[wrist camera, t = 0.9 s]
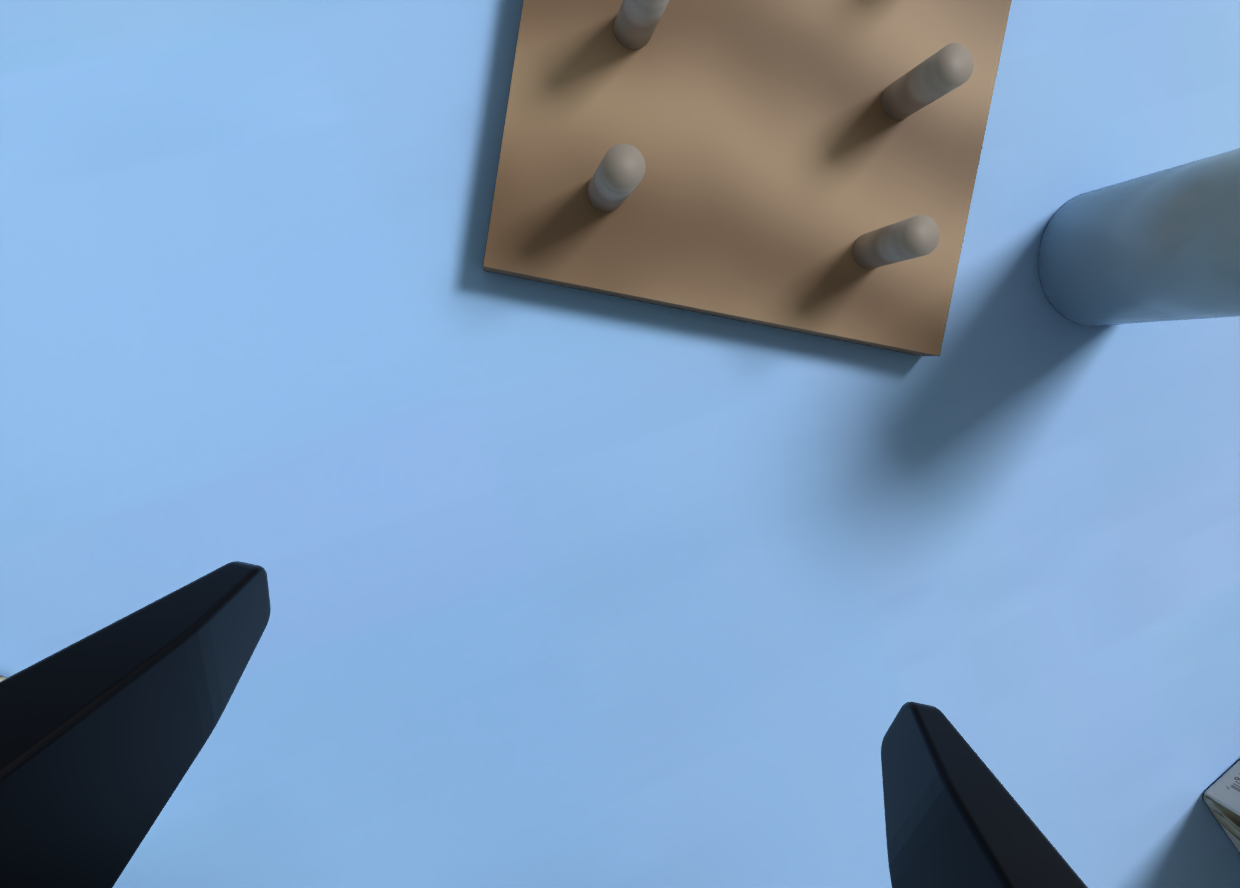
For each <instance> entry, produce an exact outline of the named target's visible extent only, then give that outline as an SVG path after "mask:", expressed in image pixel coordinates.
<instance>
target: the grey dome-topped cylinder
mask: <svg viewBox="0 0 1240 888" xmlns="http://www.w3.org/2000/svg"><path fill="white" fill-rule="evenodd" d="M1038 269H1039V276H1040V281H1041V284H1042V288H1043V290H1044V292H1045V295H1046V297H1047V298H1048V300H1049V302H1050V303H1051V304H1052V306H1053V307H1054V308H1055V309H1056V310H1057V311H1058V312H1059V313H1060V314H1061V315H1062V316H1064V317H1065V318H1067V319H1068V320H1071V321H1073V322H1075V323H1078V324H1081V325H1088V326H1097V325H1112V324H1127V323H1143V322H1158V321H1173V320H1189V319H1204V318H1219V317H1235V316H1240V148H1239V149H1235V150H1232V151H1229V152H1225V153H1222V154H1218V155H1215V156H1211V157H1208V158H1204V159H1201V160H1197V161H1194V162H1190V163H1187V164H1183V165H1180V166H1176V167H1173V168H1170V169H1166V170H1163V171H1159V172H1156V173H1152V174H1149V175H1145V176H1142V177H1138V178H1135V179H1131V180H1128V181H1124V182H1121V183H1117V184H1114V185H1111V186H1107V187H1104V188H1100V189H1097V190H1093V191H1090V192H1086V193H1083V194H1080V195H1078V196H1076V197H1073V198H1072V199H1070V200H1069V201H1067V202H1066V203H1065V204H1064V205H1062V206H1061V207H1060V208H1059V209H1058V210H1057V212H1056V213H1055V214H1054V215H1053V217H1052V218H1051V220H1050V221H1049V223H1048V225H1047V227H1046V228H1045V231H1044V233H1043V236H1042V239H1041V243H1040V248H1039V254H1038Z"/></svg>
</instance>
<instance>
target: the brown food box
mask: <svg viewBox="0 0 1240 888" xmlns="http://www.w3.org/2000/svg"><path fill="white" fill-rule="evenodd" d="M1203 798H1204V801H1205V802H1206V804H1207V805H1208V807H1209V808H1210V810H1211V811H1212V813H1213V814H1214V816H1215V817H1216V819H1217V820H1218V822H1219V823H1220V825H1221V826H1222V828H1223V829H1224V831H1225V832H1226V834H1227V835H1228V837H1229V838H1230V839H1231V841H1232V842H1233V844H1234V845H1235V847H1236V848H1237V850H1238V851H1239V853H1240V760H1239V761H1238V762H1237V763H1236V764H1235V765H1233V766H1232V767H1231V768H1230V769H1229V770H1228V771H1227V772H1226V773H1225V774H1224V775H1223V776H1222V777H1220V778H1219V779H1218V780H1217V781H1216V782H1215V783H1214V784H1213V785H1211V786H1210V787H1209V788H1208V789H1207V790H1206V791H1205V793H1204V796H1203Z"/></svg>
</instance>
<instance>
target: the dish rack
mask: <svg viewBox="0 0 1240 888" xmlns="http://www.w3.org/2000/svg"><path fill="white" fill-rule="evenodd" d="M1010 5H1011V0H523V7H522V14H521V20H520V27H519V33H518V40H517V47H516V53H515V60H514V66H513V73H512V80H511V86H510V93H509V99H508V106H507V113H506V119H505V126H504V132H503V139H502V146H501V152H500V159H499V165H498V172H497V179H496V185H495V192H494V198H493V205H492V212H491V218H490V225H489V231H488V238H487V245H486V251H485V258H484V264H483V270H484V271H489V272H494V273H499V274H505V275H510V276H515V277H520V278H525V279H530V280H535V281H540V282H546V283H551V284H556V285H561V286H566V287H571V288H576V289H581V290H587V291H592V292H597V293H602V294H607V295H612V296H617V297H622V298H628V299H633V300H638V301H643V302H648V303H653V304H658V305H663V306H669V307H674V308H679V309H684V310H689V311H694V312H699V313H704V314H710V315H715V316H720V317H725V318H730V319H735V320H740V321H745V322H751V323H756V324H761V325H766V326H771V327H776V328H781V329H786V330H792V331H797V332H802V333H807V334H812V335H817V336H822V337H827V338H832V339H838V340H843V341H848V342H853V343H858V344H863V345H868V346H873V347H879V348H884V349H889V350H894V351H899V352H904V353H909V354H914V355H920V356H940V352H941V347H942V342H943V337H944V332H945V327H946V322H947V317H948V312H949V307H950V302H951V297H952V292H953V287H954V282H955V277H956V272H957V268H958V263H959V258H960V253H961V248H962V243H963V238H964V233H965V228H966V223H967V218H968V213H969V208H970V203H971V198H972V193H973V188H974V183H975V179H976V174H977V169H978V164H979V159H980V154H981V149H982V144H983V139H984V134H985V129H986V124H987V119H988V114H989V109H990V104H991V99H992V94H993V89H994V85H995V80H996V75H997V70H998V65H999V60H1000V55H1001V50H1002V45H1003V40H1004V35H1005V30H1006V25H1007V20H1008V15H1009V10H1010Z"/></svg>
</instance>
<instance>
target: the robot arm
mask: <svg viewBox="0 0 1240 888" xmlns="http://www.w3.org/2000/svg"><path fill="white" fill-rule="evenodd" d="M269 616H270V599H269V590H268V581H267V574H266V571H265V569H264V568H263V567H261V566H258V565H253V564H248V563H244V562H238V561H236V562H231V563H228V564H226V565H224V566H222V567H220V568H218V569H216V570H215V571H213V572H211V573H209V574H207V575H205V576H203V577H201V578H199V579H197V580H195V581H193V582H191V583H190V584H188V585H186V586H184V587H182V588H180V589H178V590H176V591H174V592H172V593H170V594H168V595H166V596H164V597H163V598H161V599H159V600H157V601H155V602H153V603H151V604H149V605H147V606H145V607H143V608H141V609H139V610H138V611H136V612H134V613H132V614H130V615H128V616H126V617H124V618H122V619H120V620H118V621H116V622H114V623H112V624H111V625H109V626H107V627H105V628H103V629H101V630H99V631H97V632H95V633H93V634H91V635H89V636H87V637H86V638H84V639H82V640H80V641H78V642H76V643H74V644H72V645H70V646H68V647H66V648H64V649H62V650H60V651H59V652H57V653H55V654H53V655H51V656H49V657H47V658H45V659H43V660H41V661H39V662H37V663H35V664H34V665H32V666H30V667H28V668H26V669H24V670H22V671H20V672H18V673H16V674H14V675H12V676H10V677H8V678H7V679H5V680H3V681H1V682H0V888H112V887H113V886H114V884H115V882H116V881H117V879H118V878H119V876H120V875H121V873H122V872H123V870H124V868H125V867H126V865H127V864H128V862H129V861H130V859H131V858H132V856H133V854H134V853H135V851H136V850H137V848H138V847H139V845H140V844H141V842H142V841H143V839H144V837H145V836H146V834H147V833H148V831H149V830H150V828H151V827H152V825H153V823H154V822H155V820H156V819H157V817H158V816H159V814H160V813H161V811H162V809H163V808H164V806H165V805H166V803H167V802H168V800H169V799H170V797H171V795H172V794H173V792H174V791H175V789H176V788H177V786H178V785H179V783H180V781H181V780H182V778H183V777H184V775H185V774H186V772H187V771H188V769H189V767H190V766H191V764H192V763H193V761H194V760H195V758H196V757H197V755H198V753H199V752H200V750H201V749H202V747H203V746H204V744H205V743H206V741H207V739H208V738H209V736H210V734H211V733H212V731H213V729H214V728H215V726H216V724H217V723H218V721H219V719H220V717H221V715H222V713H223V711H224V709H225V707H226V705H227V703H228V701H229V699H230V697H231V695H232V694H233V692H234V690H235V688H236V686H237V684H238V682H239V680H240V678H241V676H242V674H243V672H244V670H245V668H246V666H247V664H248V662H249V660H250V658H251V656H252V654H253V652H254V650H255V648H256V646H257V644H258V642H259V640H260V638H261V636H262V634H263V632H264V630H265V628H266V626H267V623H268V620H269ZM881 762H882V777H883V792H884V807H885V822H886V838H887V851H888V862H889V870H890V877H891V883H892V888H1088V887H1087V886H1086V885H1085V884H1084V883H1083V881H1082V880H1081V879H1080V878H1079V877H1078V875H1077V874H1076V873H1075V872H1074V871H1073V869H1072V868H1071V867H1070V866H1069V865H1068V863H1067V862H1066V861H1065V860H1064V859H1063V857H1062V856H1061V855H1060V854H1059V853H1058V851H1057V850H1056V849H1055V848H1054V847H1053V845H1052V844H1051V843H1050V842H1049V841H1048V839H1047V838H1046V837H1045V836H1044V835H1043V833H1042V832H1041V831H1040V830H1039V828H1038V827H1037V826H1036V825H1035V824H1034V822H1033V821H1032V820H1031V819H1030V818H1029V816H1028V815H1027V814H1026V813H1025V812H1024V810H1023V809H1022V808H1021V807H1020V806H1019V804H1018V803H1017V802H1016V801H1015V800H1014V798H1013V797H1012V796H1011V795H1010V794H1009V792H1008V791H1007V790H1006V789H1005V788H1004V786H1003V785H1002V784H1001V783H1000V782H999V780H998V779H997V778H996V777H995V776H994V774H993V773H992V772H991V771H990V770H989V768H988V767H987V766H986V765H985V764H984V762H983V761H982V760H981V759H980V758H979V756H978V755H977V754H976V753H975V752H974V750H973V749H972V748H971V747H970V746H969V744H968V743H967V742H966V741H965V740H964V738H963V737H962V736H961V735H960V733H959V732H958V731H957V730H956V729H955V727H954V726H953V725H952V724H951V723H950V721H949V720H948V719H947V718H946V717H945V715H944V714H943V713H942V712H941V711H940V710H939V709H937V708H936V707H933V706H929V705H925V704H920V703H915V702H907V703H905V704H904V705H903V706H902V707H901V709H900V711H899V712H898V714H897V716H896V717H895V719H894V721H893V722H892V724H891V726H890V727H889V729H888V731H887V732H886V734H885V736H884V738H883V742H882V746H881Z"/></svg>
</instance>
